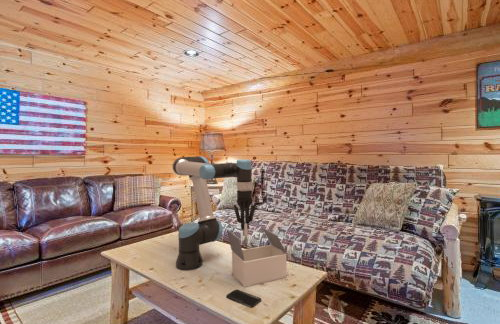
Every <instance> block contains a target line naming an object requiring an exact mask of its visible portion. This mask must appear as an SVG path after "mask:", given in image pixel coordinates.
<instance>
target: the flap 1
mask: <svg viewBox="0 0 500 324" xmlns="http://www.w3.org/2000/svg"><path fill="white" fill-rule="evenodd" d="M226 232H227V237H228V241H229V245H230V251H231V252H232V251H233V252H234V253H235V254H236V255H237V256H238V257H240V258H241V259H242V260H243V261H245V260H244V256H243V252H242V250H243V248H242V245H241V240H240V238H239V237H238V236H237V235H235V234H234V233H233V232H232V231H230V230H229V229H226Z"/></svg>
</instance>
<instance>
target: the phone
mask: <svg viewBox="0 0 500 324" xmlns="http://www.w3.org/2000/svg"><path fill="white" fill-rule="evenodd" d="M225 296H226V299H228V300H230V301H234V302H235V303H237V304H240V305H243V306H245V307H248V308H251V309H253V308H254V307H256V306H258V305H259V304H260V303H261V302H262V298H261V297H258V296H256V295H253V294H251V293H248V292H245V291H243V290H240V289H237V288H236V289H234V290H232V291H230V292H229V293H228V294H226V295H225Z"/></svg>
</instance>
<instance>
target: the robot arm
mask: <svg viewBox="0 0 500 324" xmlns="http://www.w3.org/2000/svg"><path fill="white" fill-rule="evenodd" d="M252 169H253V167H252V160H250V159H237V160H236V162H224V163H210V162H209V160H208V158H206V157H205V156H200V155H197V156H181V157H178V158H176V159H175V160H174V161H173V164H172V170H173V172H174V173H175V174H176V175H178V176H183V177H184V176H188V178H189V180H190V181H191V182H192V186H193V190H194V196H195V201H196V202H195V203H196V208H197V212H198V217H199V219H198V221H197V222H188V223H184V224H183V225H181V226H180V227H179V228H178V234H177V238H178V254H177V258H176V261H175V267H176V269H179V270H182V271H191V270H196V269H199V268H201V267H202V266H203V262H204V261H203V257H202V255H201V251H200V245H204V244H209V243H214V242H216V241H219V240H220V239H221V238H222V236H223V232H224V231H223V225H222V223H221V221H220V220H217V217H216V216H215V215H214V212H213V206H212V201H211V197H210V196H211V195H210V192H209V186H208V181H207V180H212V179H224V178H225V179H226V178H236V190H237V191H236V198H237V199H236V202H234V203H233V204H232V205H231V206H232V208H233V209H234V213H235V217H236V221H237V223H239V224H240V229H241V231H242V236H243V237H244V238H246V237H248V230H249V228H250V223H252V222H253V219H254V213H255V209H256V207H257V202H255V201H253V190H252V188H253V186H252V184H253V182H252V181H253V180H252V177H253V176H252ZM239 210H240V211H239Z"/></svg>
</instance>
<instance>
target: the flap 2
mask: <svg viewBox="0 0 500 324" xmlns="http://www.w3.org/2000/svg"><path fill="white" fill-rule="evenodd" d="M261 229H262V230H263V232H264V234H265V236H266V237H267V239H268V241H269V243H270V245H273V246H274V247H276V248H277V249H279V250H280V251H282V252H284V253H285V254H287V250H286V248H285V247H284V245H283V244H282V242H281V240H280V238H279V236H278V235H277V234H276V233H274V232H272V231H271V230H269V229H267V228H265V227H261Z"/></svg>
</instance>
